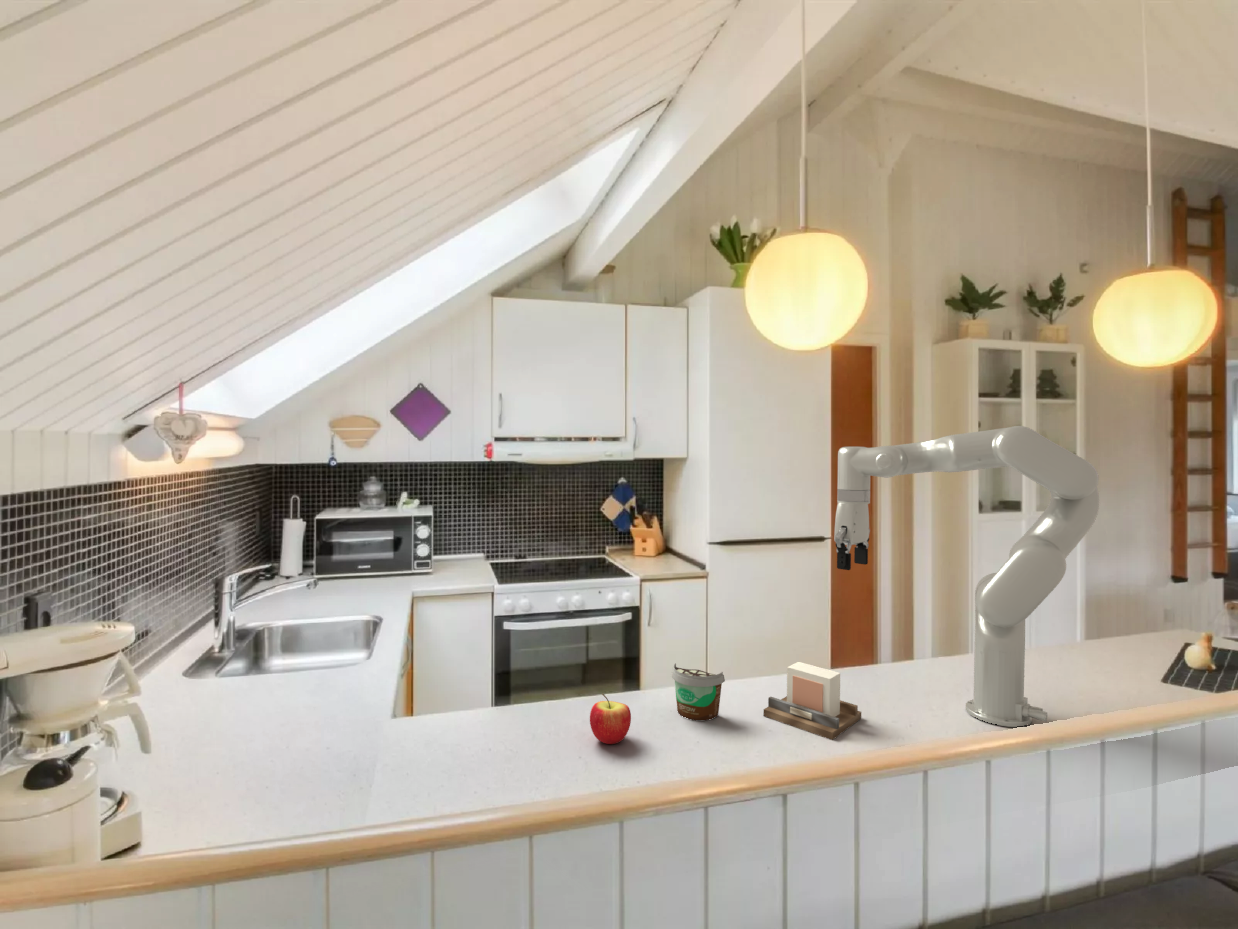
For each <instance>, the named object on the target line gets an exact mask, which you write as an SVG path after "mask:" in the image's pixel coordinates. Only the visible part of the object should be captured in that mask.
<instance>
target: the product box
mask: <svg viewBox="0 0 1238 929" xmlns="http://www.w3.org/2000/svg"><path fill="white" fill-rule="evenodd" d="M786 696H787V702H789V703H793V704H796V705H799V706H802V707H805V708H808V709H811V710H814V711H818V712H821V713H824V714H827V715H830V716H833V717H836V716H837V715H839V714H840V700H841V672H838V671H834V670H830V669H827V668H823V667H820V666H815V665H812V664H809V663H805V662H801V661H797V662H795V663H793V664H791V665H789V666H787V667H786Z"/></svg>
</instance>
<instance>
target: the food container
mask: <svg viewBox="0 0 1238 929" xmlns="http://www.w3.org/2000/svg"><path fill="white" fill-rule="evenodd" d="M670 675H671V676H670V677H671V678H672V680H674V689H675V699H676V710H677V711H678V712H677V711H676V712H677V713H678V715H679V714H680V715H679V716H680V717H682V716H683V717H682V718H684V717H686V718H688V719H687V720H690V719H692V720H691V721H696V720H705V721H710V720H709V719H711V720H713V719H712V718H714V717H716V718H717V717H718V716H719V712H720V711H719V710H720V703H721V702H720V701H721V694H722V684H723V683H725V682H726V681H725V680H726V679H725V675H724V671H721V672H720V673H718V674H716V673H715V674H714V673H709V672H706V671H703V670H701V669H688V668H681V667H677V663H674V664H673V667H672V671H671V674H670ZM686 718H685V719H686ZM714 719H715V718H714Z"/></svg>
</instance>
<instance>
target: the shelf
mask: <svg viewBox="0 0 1238 929" xmlns="http://www.w3.org/2000/svg"><path fill="white" fill-rule="evenodd" d="M767 701H768V702H767V704H768V706H767V707H765V708H763V717H765V718H768V719H771V720H774V721H776V722H780V723H783V724H785V725H789V726H791V727H794V728H797V729H800V730H802V731H806V732H808V733H811V734H814V735H817V736H820V737H823V738H825V737H826V739H828V738H829V739H828V740H831V741H834V739H836V738H837V737H839V736H840V735H841V734H842V733H844V732H845V731H847V730H848V729H849V728H851V727H852V726H853V725H855V724H856V723H857V722H858V720H859V721H860V720H861V719H862V711H860V710H859V709H858V708H859V707H858V705H857V704H853V703H850V702H847V701H844V700H841V699H840V714H839V715H837V716H836V717H833V716H830V715H827V714H824V713H821V712H818V711H814V710H811V709H808V708H805V707H802V706H799V705H796V704H793V703H789V702H787V695H786V696H784V697H783V698H781V699H779V698H776V697H774V696H769V697H768V700H767ZM835 737H836V738H835Z"/></svg>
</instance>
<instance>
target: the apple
mask: <svg viewBox="0 0 1238 929" xmlns="http://www.w3.org/2000/svg"><path fill="white" fill-rule="evenodd" d="M601 695H602V696H603V697H604V698H605V700H600V701H597V702H595V703H594V704H593V705H592V707H591V709H590V713H589V724H590V729H591V731H592V733H593V735H594V737H595V738H596V739H597V741H600V743H603V744H605V745H614V744H615V745H616V744H618V743H620V742H621V741H623V740H624V739H625V737H626V736H627V734H628V732H629V731H630V727H631V723H632V722H631V721H632V713H631V709H630V707H629V706H628V705H627V704H625V703H622V702H618V701H613V700H609V698H607V696H606V695H605V694H604V693H603V692H602V693H601Z"/></svg>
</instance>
